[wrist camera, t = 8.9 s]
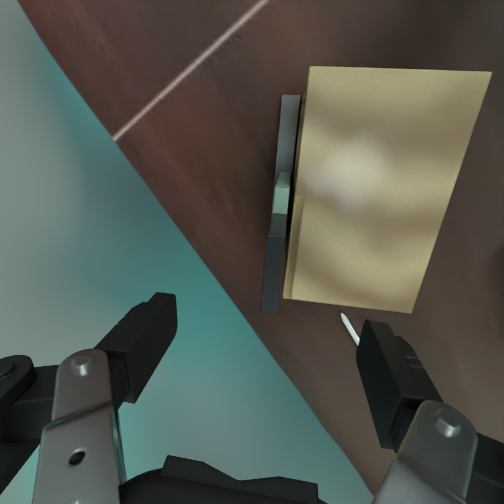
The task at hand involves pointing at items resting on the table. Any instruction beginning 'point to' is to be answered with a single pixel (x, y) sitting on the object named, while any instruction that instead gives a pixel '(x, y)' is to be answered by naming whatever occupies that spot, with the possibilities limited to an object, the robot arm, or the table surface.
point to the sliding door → (275, 246)
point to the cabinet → (371, 179)
